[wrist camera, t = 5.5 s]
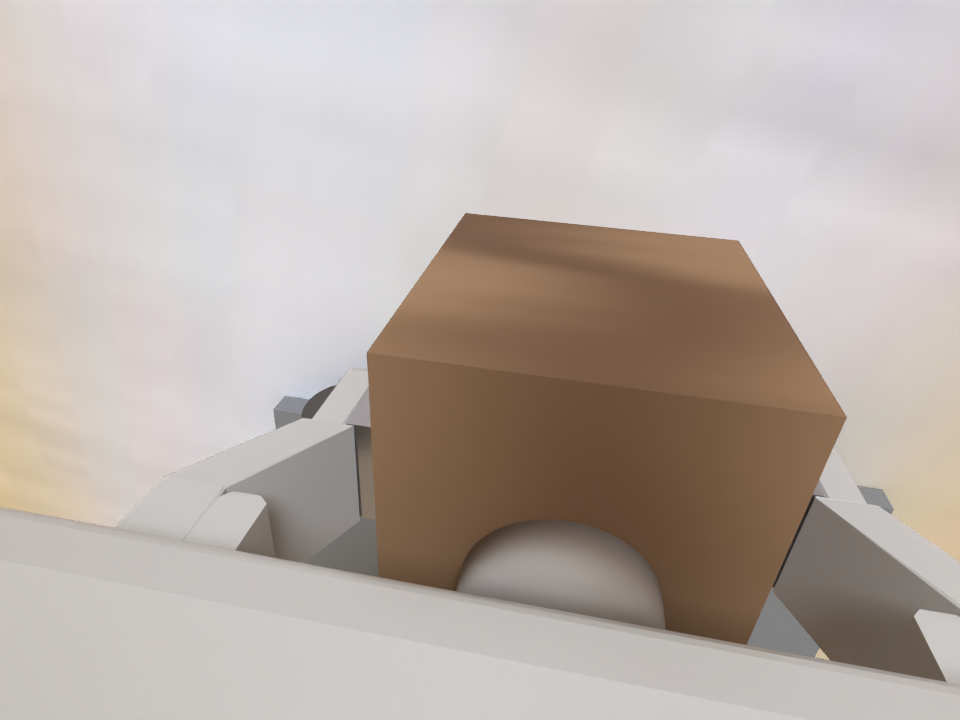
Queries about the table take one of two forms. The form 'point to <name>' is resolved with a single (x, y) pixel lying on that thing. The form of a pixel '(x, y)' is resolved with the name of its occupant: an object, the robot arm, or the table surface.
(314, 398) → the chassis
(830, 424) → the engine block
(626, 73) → the table surface
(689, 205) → the table surface
